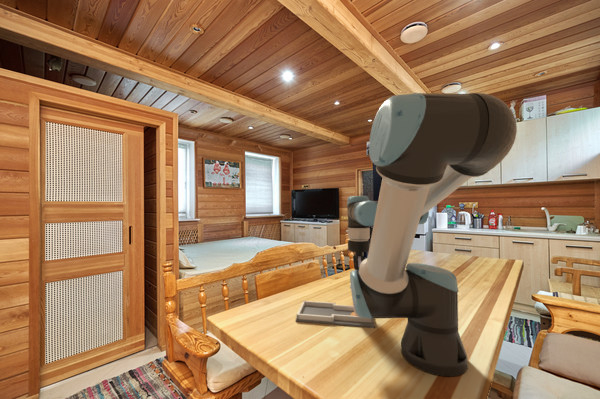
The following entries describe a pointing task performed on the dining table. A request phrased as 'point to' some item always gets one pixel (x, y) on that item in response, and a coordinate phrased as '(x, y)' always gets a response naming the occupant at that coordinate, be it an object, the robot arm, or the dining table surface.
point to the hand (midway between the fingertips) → (359, 305)
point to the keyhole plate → (331, 314)
